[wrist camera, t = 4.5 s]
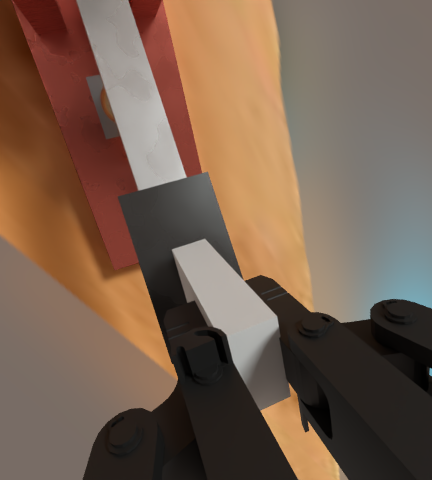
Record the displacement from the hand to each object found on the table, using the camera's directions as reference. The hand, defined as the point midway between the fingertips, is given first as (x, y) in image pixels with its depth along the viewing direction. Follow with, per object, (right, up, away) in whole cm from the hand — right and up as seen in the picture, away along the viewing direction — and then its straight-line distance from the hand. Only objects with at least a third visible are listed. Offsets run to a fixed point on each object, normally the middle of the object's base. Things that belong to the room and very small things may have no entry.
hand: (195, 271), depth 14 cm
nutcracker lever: (-3, +7, +3) cm, 9 cm away
